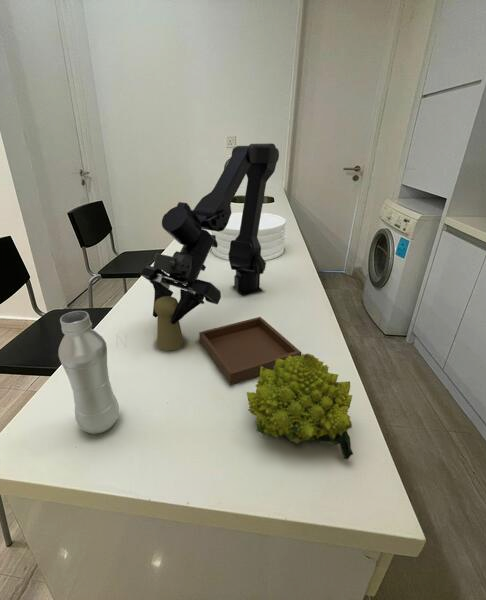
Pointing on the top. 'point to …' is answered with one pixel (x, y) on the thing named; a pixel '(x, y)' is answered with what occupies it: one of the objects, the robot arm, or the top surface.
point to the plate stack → (268, 235)
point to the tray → (245, 348)
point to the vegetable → (302, 402)
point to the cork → (167, 324)
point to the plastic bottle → (87, 373)
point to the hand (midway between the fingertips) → (163, 320)
